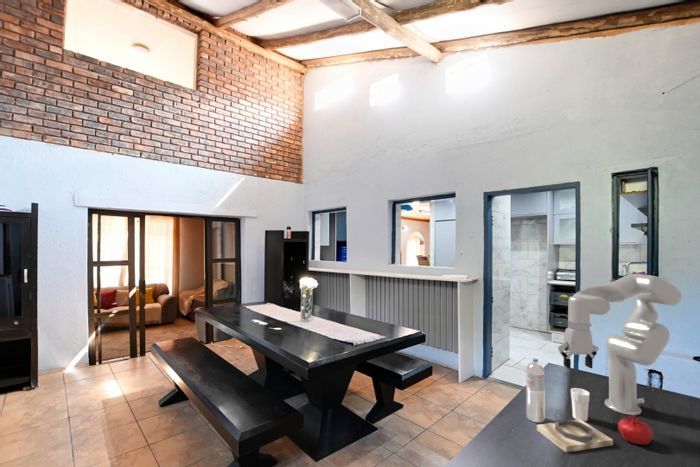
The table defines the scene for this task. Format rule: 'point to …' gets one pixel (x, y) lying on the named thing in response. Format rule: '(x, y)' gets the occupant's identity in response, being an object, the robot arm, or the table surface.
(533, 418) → the water bottle
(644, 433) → the pomegranate
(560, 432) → the seat board
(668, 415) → the table surface
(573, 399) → the cup
